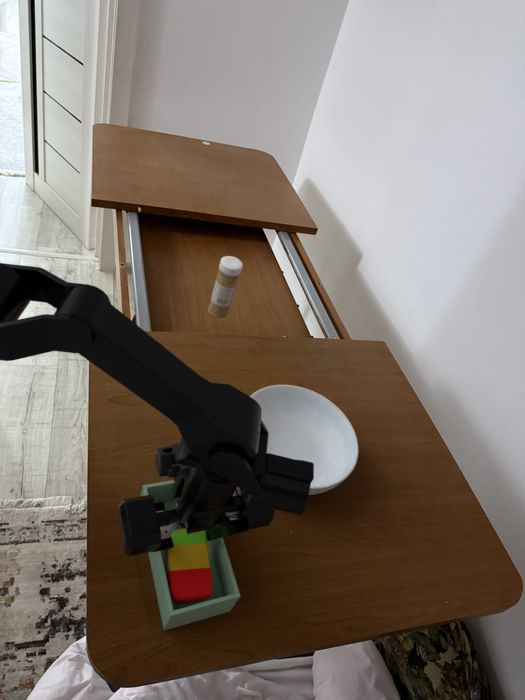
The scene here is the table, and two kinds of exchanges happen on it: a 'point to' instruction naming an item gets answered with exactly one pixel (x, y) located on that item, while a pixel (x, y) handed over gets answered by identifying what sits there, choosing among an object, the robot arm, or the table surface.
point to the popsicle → (189, 567)
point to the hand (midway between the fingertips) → (186, 542)
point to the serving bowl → (309, 432)
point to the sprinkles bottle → (225, 286)
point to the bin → (221, 574)
